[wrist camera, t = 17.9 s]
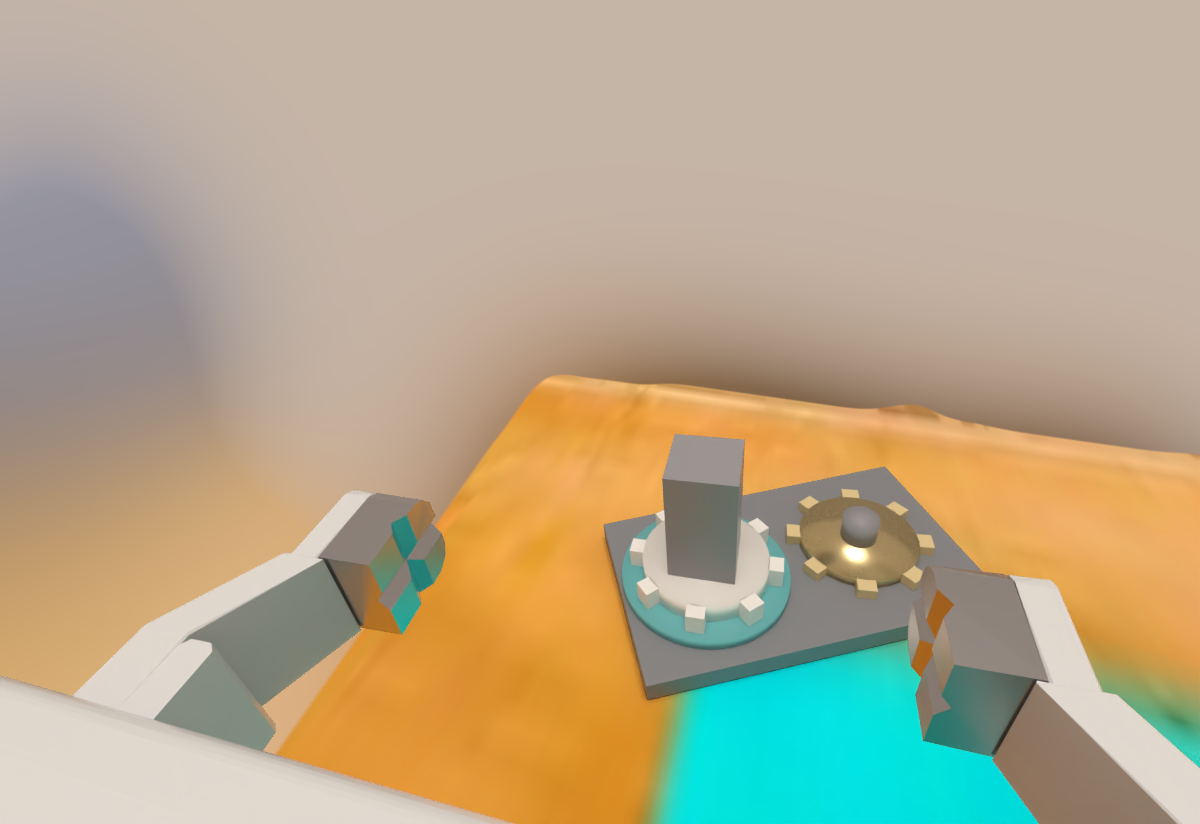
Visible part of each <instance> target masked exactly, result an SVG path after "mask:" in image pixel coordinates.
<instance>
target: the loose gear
mask: <svg viewBox="0 0 1200 824" xmlns="http://www.w3.org/2000/svg"><path fill="white" fill-rule="evenodd" d="M744 447H745V440H742V439H729V438H717V437H705V436H693V435H680V434H675V436H674V439H673V443H672V446H671V450H670V454H669V457H668V461H667V464H666V468H665V471H664V475H663V479H662V480H663V498H664V510H663V511H661V512H659V513H657V514H656V527H655V528H654V529H653V530H652V532H651V533H650V534H649V536H648V538H647V539H646V540H643V539H636V538H633V541H632V544H631V548H630V559H631V565H634V566H641V567H643V568H644V576H645V579H643V580H641V581H639V582H638V583H637V591H638V598H639V599H640V600H641V602H642V603H643V604H644V606H645V607H646V608H647V609H648V610H649V609H650V608H652V607H654V606H656V605H657V604H659V603H660V604H661V605H662V606H664V607H665V608H666V609H668V610H670V611H671V612H673V613H675V614H677V615H679V616H682V617H685V631H688V632H694V633H700V634H704V633H705V626H706V622H715V621H724V620H728V619H732V618H735V617H737V616H739V617H740V618H741V619H742V620H743V621H744V622H745V623H746V624H747V625H748V626H750V625H752V624H754V623H755V622H757V621H758V620H760V619H762V618H763V614H764V602H763V601H762V600H761V598H762V597H763V595H764V593H765V591H766V588H767V585H771V586H778V587H782V584H783V575H784V558H779V557H771V556H770V555H769V551H768V548H767V545H766V543H767V542H768V534H769V527H768V526H766V525H765V524H764V523H763V522H762V521H761V520H759V519H758V518H756V519H754V520H752V521H751V522H749V523H746V522H744V521H743V520H741V512H742V490H743V468H744Z"/></svg>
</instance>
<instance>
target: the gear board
mask: <svg viewBox="0 0 1200 824" xmlns="http://www.w3.org/2000/svg"><path fill="white" fill-rule="evenodd" d="M756 518H758V519H759V520H761V521H762V522H763V523H764V524H765V525H766V526H768V527H769V534H768V542H767V543H766V545H767V548H768V551H769V555H770V556H771V557H779V558H784V575H783V584H782V587H778V586H771V585H767V588H766V591H765V593H764V595H763V597H762V598H761V600H762V601H763V602H764V614H763V618H762V619H760V620H758V621H757V622H755V623H754V624H752V625H750V626H748V625H747V624H746V623H745V622H744V621H743V620H742V619H741V618H740V617H739V616H737V617H735V618H732V619H728V620H724V621H715V622H706V626H705V633H704V634H700V633H694V632H688V631H685V617H682V616H679V615H677V614H675V613H673V612H671V611H670V610H668V609H666V608H665V607H664V606H662V605H661V604H660V603H659V604H657V605H656V606H654V607H652V608H650V609H649V610H648V609H647V608H646V607H645V606H644V604H643V603H642V602H641V600H640V599H639V598H638V591H637V583H638V582H639V581H641V580H643V579H645V576H644V568H643V567H641V566H634V565H631V559H630V548H631V544H632V541H633V538H636V539H643V540H646V539H647V538H648V536H649V534H650V533H651V532H652V530H653V529H654V528H655V527H656V514H652V515H647V516H642V517H638V518H633V519H628V520H623V521H618V522H613V523H609V524H604V531H605V538H606V542H607V546H608V549H609V553H610V557H611V561H612V565H613V569H614V573H615V576H616V580H617V584H618V588H619V592H620V596H621V600H622V603H623V607H624V611H625V615H626V619H627V623H628V626H629V630H630V634H631V638H632V642H633V646H634V650H635V653H636V657H637V661H638V665H639V669H640V673H641V677H642V680H643V684H644V688H645V692H646V696H647V700H650V699H654V698H659V697H663V696H667V695H671V694H676V693H680V692H684V691H688V690H693V689H697V688H701V687H705V686H710V685H714V684H718V683H722V682H727V681H731V680H735V679H739V678H744V677H748V676H752V675H756V674H761V673H765V672H769V671H773V670H778V669H782V668H786V667H790V666H795V665H799V664H803V663H807V662H811V661H816V660H820V659H824V658H828V657H833V656H837V655H841V654H845V653H850V652H854V651H858V650H862V649H867V648H871V647H875V646H879V645H884V644H888V643H892V642H896V641H901V640H905V639H908V627H909V617H910V613H911V609H912V605H913V602H914V601H916V600H918V599H920V598H921V597H922V593H921V588H920V579H921V576H922V573H923V570H924V569H925V568H926V567H927V565H931V566H939V567H948V568H956V569H964V570H973V571H981V570H980V569H979V568H978V567H977V565H976V564H975V563H974V562H973V561H972V560H971V559H970V558H969V557H968V556H967V555H966V554H965V553H964V551H963V550H962V549H961V548H960V547H959V546H958V545H957V544H956V543H955V542H954V541H953V540H952V539H951V537H950V536H949V535H948V534H947V533H946V532H945V531H944V530H943V529H942V528H941V527H940V526H939V524H938V523H937V522H936V521H935V520H934V519H933V518H932V517H931V516H930V515H929V514H928V513H927V512H926V510H925V509H924V508H923V507H922V506H921V505H920V504H919V503H918V502H917V501H916V500H915V499H914V498H913V496H912V495H911V494H910V493H909V492H908V491H907V490H906V489H905V488H904V487H903V486H902V485H901V483H900V482H899V481H898V480H897V479H896V478H895V477H894V476H893V475H892V474H891V473H890V472H889V471H888V469H887V468H886V467H880V468H875V469H870V470H865V471H861V472H856V473H851V474H846V475H841V476H836V477H832V478H827V479H822V480H817V481H812V482H807V483H802V484H798V485H793V486H788V487H783V488H778V489H773V490H769V491H764V492H759V493H754V494H749V495H744V496H742V512H741V520H743V521H744V522H746V523H749V522H751V521H752V520H754V519H756ZM981 572H982V571H981Z"/></svg>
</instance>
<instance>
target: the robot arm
mask: <svg viewBox="0 0 1200 824" xmlns="http://www.w3.org/2000/svg"><path fill="white" fill-rule="evenodd" d="M434 517H435V514H434V511H433V509H432V507H431V504H430V502H426V501H423V500H418V499H411V498H405V497H399V496H392V495H386V494H380V493H371V492H365V491H358V490H353V491H351V492H349V493H347V494H345V495H344V496H343V497H342V498H341V499H340V500H339V502H338V503H337V504H336V505H335V506H334V507H333V508H332V509H331V510H330V512H329V513H328V514H327V515H326V516H325V517H324V518H323V519H322V521H321V522H320V523H319V524H318V525H317V526H316V527H315V528H314V529H313V530H312V532H311V533H310V534H309V535H308V536H307V537H306V538H305V539H304V541H303V542H302V543H301V544H300V545H299V546H298V547H297V548H296V549H295V550H294V552H293V553H292V554H290V553H283V554H281V555H279V556H277V557H275V558H274V559H272V560H270V561H268V562H266V563H264V564H262V565H260V566H258V567H256V568H254V569H252V570H250V571H248V572H246V573H245V574H243V575H241V576H239V577H237V578H235V579H233V580H231V581H229V582H227V583H225V584H223V585H221V586H219V587H217V588H216V589H214V590H212V591H210V592H208V593H206V594H204V595H202V596H200V597H198V598H196V599H194V600H192V601H190V602H188V603H187V604H185V605H183V606H181V607H179V608H177V609H175V610H173V611H171V612H169V613H167V614H165V615H163V616H162V617H159V618H158V619H156V620H154V621H152V622H150V623H148V624H146V625H144V626H143V627H142V628H141V629H140V631H138V632H137V633H136V634H135V635H134V636H133V637H132V638H131V639H130V640H129V641H128V642H127V643H126V644H125V645H124V646H123V647H122V648H121V649H120V650H119V651H118V652H117V653H116V654H115V655H114V656H113V657H112V658H111V659H110V660H109V661H108V662H107V663H106V664H105V665H104V666H103V667H101V668H100V669H99V670H98V671H97V672H96V673H95V674H94V675H93V677H91V678H90V679H89V680H88V681H87V682H86V683H85V684H84V685H83V686H82V687H81V688H80V689H79V690H78V691H77V692H76V693H75V694H74V695H73V696H70V695H67V694H63V693H60V692H56V691H53V690H49V689H46V688H42V687H39V686H35V685H32V684H28V683H25V682H21V681H17V680H14V679H11V678H7V677H4V676H0V824H515V823H511V822H508V821H504V820H501V819H497V818H494V817H490V816H487V815H483V814H480V813H476V812H473V811H470V810H466V809H463V808H459V807H456V806H452V805H449V804H445V803H442V802H438V801H435V800H431V799H428V798H424V797H421V796H417V795H414V794H411V793H407V792H404V791H400V790H397V789H393V788H390V787H386V786H383V785H379V784H376V783H372V782H369V781H365V780H362V779H358V778H355V777H352V776H348V775H345V774H341V773H338V772H334V771H331V770H327V769H324V768H320V767H317V766H313V765H310V764H306V763H303V762H299V761H296V760H292V759H289V758H286V757H282V756H279V755H275V754H272V753H268V752H264V751H263V750H264V748H265V747H266V745H267V744H268V743H269V741H270V740H271V738H272V737H273V735H274V734H275V732H276V731H275V723H274V722H273V720H272V719H271V718H270V717H269V716H268V714H267V713H266V712H265V710H264V709H263V708H262V706H263V705H264V704H265V703H267V702H268V701H269V700H271V699H272V698H273V697H274V696H276V695H277V694H278V693H280V692H281V691H282V690H283V689H285V688H286V687H288V686H289V685H290V684H291V683H293V682H294V681H295V680H297V679H298V678H299V677H301V676H302V675H303V674H304V673H305V672H307V671H308V670H310V669H311V668H312V667H313V666H315V665H316V664H317V663H319V662H320V661H321V660H323V659H324V658H325V657H326V656H328V655H329V654H331V653H332V652H333V651H334V650H336V649H337V648H338V647H340V646H341V645H342V644H343V643H345V642H346V641H347V640H349V639H350V638H351V637H353V636H354V635H355V634H357V633H358V632H359V631H360V630H361V629H360V628H366V629H372V630H378V631H384V632H390V633H395V634H401V635H402V634H403V632H404V631H405V629H406V628H407V626H408V624H409V623H410V621H411V619H412V618H413V616H414V615H415V613H416V611H417V610H418V608H419V606H420V605H421V596H420V592H421V591H422V590H424V589H426V588H427V587H429V586H430V585H432V584H433V583H434V582H435V580H436V578H437V577H438V575H439V573H440V572H441V569H442V566H443V562H444V558H445V542H444V539H443V536H442V533H441V532H440V531H439V530H438V529H437V528H436V527H434V526H433V525H432V524H431V522H432V521H433V519H434ZM920 588H921V593H922V597H921V598H920V599H918V600H916V601H914V602H913V605H912V609H911V613H910V617H909V627H908V647H909V656H910V663H911V667H912V668H913V669H914V670H915V671H916V672H917V674H918V675H919V676H920V677H921V681H920V683H919V686H918V689H917V692H916V701H917V707H918V713H919V719H920V725H921V731H922V737H923V741H926V742H930V743H935V744H939V745H943V746H948V747H952V748H957V749H961V750H965V751H970V752H974V753H978V754H983V755H987V756H992V757H994V758H993V762H994V763H995V764H996V766H997V767H998V768H999V770H1000V771H1001V772H1002V774H1003V775H1004V777H1005V778H1006V779H1007V781H1008V782H1009V783H1010V785H1011V786H1012V787H1013V789H1014V790H1015V792H1016V793H1017V794H1018V796H1019V797H1020V798H1021V800H1022V801H1023V802H1024V804H1025V805H1026V807H1027V808H1028V809H1029V811H1030V812H1031V813H1032V815H1033V816H1034V817H1035V819H1036V820H1037V822H1038V823H1039V824H1200V768H1199V767H1198V766H1196V765H1195V764H1194V763H1193V762H1192V761H1191V760H1190V759H1189V758H1187V757H1186V756H1185V755H1184V754H1183V753H1182V752H1181V751H1180V750H1178V749H1177V748H1176V747H1175V746H1174V745H1173V744H1172V743H1171V742H1169V741H1168V740H1167V739H1166V738H1165V737H1164V736H1163V735H1162V734H1160V733H1159V732H1158V731H1157V730H1156V729H1155V728H1154V727H1153V726H1151V725H1150V724H1149V723H1148V722H1147V721H1146V720H1145V719H1144V718H1142V717H1141V716H1140V715H1139V714H1138V713H1137V712H1136V711H1135V710H1133V709H1132V708H1131V707H1130V706H1129V705H1128V704H1127V703H1126V702H1124V701H1123V700H1122V699H1121V698H1120V697H1119V696H1118V695H1115V694H1110V693H1105V692H1102V689H1101V687H1100V685H1099V682H1098V680H1097V678H1096V675H1095V673H1094V671H1093V668H1092V666H1091V664H1090V661H1089V659H1088V657H1087V654H1086V652H1085V650H1084V647H1083V645H1082V643H1081V640H1080V638H1079V636H1078V633H1077V631H1076V629H1075V626H1074V624H1073V622H1072V619H1071V617H1070V615H1069V612H1068V610H1067V608H1066V605H1065V603H1064V601H1063V598H1062V596H1061V594H1060V591H1059V589H1058V587H1057V586H1056V585H1055V584H1054V583H1053V582H1052V581H1051V580H1044V579H1036V578H1028V577H1020V576H1012V575H1007V576H1006V575H1004V574H998V573H989V572H981V571H973V570H964V569H956V568H948V567H939V566H931V565H927V567H926V568H925V569H924V570H923V573H922V576H921V579H920Z"/></svg>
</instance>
